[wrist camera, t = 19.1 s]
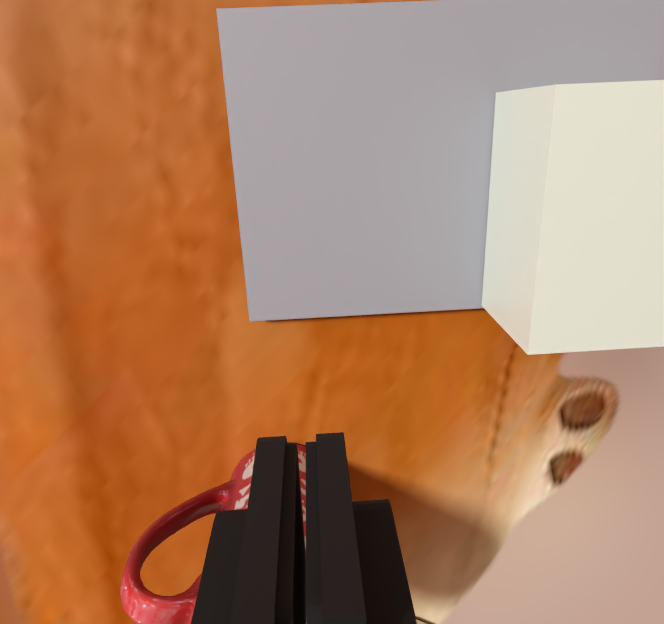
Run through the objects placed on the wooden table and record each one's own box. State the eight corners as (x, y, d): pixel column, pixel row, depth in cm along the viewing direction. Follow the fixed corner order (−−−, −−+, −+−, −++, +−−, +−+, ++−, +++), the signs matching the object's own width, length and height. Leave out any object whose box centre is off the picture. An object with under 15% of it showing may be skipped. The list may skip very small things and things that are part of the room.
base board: (622, 293, 32) (655, 311, 29) (251, 314, 31) (245, 334, 28) (672, -4, 26) (720, -20, 23) (220, 13, 25) (208, -1, 22)
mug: (371, 454, 35) (408, 642, 23) (317, 549, 38) (324, 763, 25) (195, 391, 33) (127, 562, 20) (151, 497, 36) (67, 705, 23)
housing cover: (614, 298, 31) (694, 344, 24) (481, 305, 30) (527, 354, 24) (649, 85, 26) (756, 75, 20) (495, 92, 26) (555, 84, 20)
